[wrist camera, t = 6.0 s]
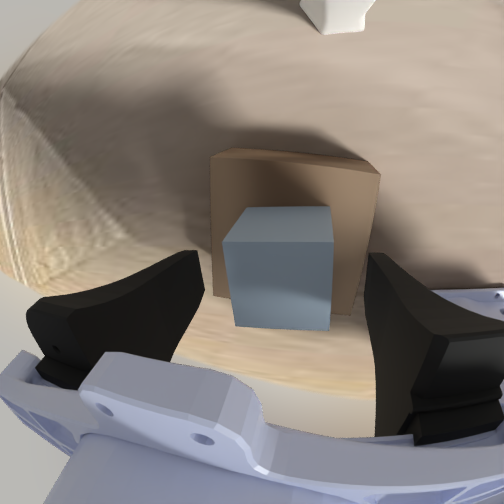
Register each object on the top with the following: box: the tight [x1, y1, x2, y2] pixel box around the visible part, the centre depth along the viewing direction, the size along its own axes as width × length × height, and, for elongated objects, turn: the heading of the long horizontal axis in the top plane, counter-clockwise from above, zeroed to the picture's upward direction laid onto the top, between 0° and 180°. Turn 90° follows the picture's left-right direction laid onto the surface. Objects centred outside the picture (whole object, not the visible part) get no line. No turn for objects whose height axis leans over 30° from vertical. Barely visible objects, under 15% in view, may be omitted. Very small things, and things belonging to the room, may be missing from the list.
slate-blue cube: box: [222, 206, 334, 331], centre depth 13 cm, size 4×4×4 cm
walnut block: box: [210, 148, 381, 316], centre depth 16 cm, size 8×8×4 cm
